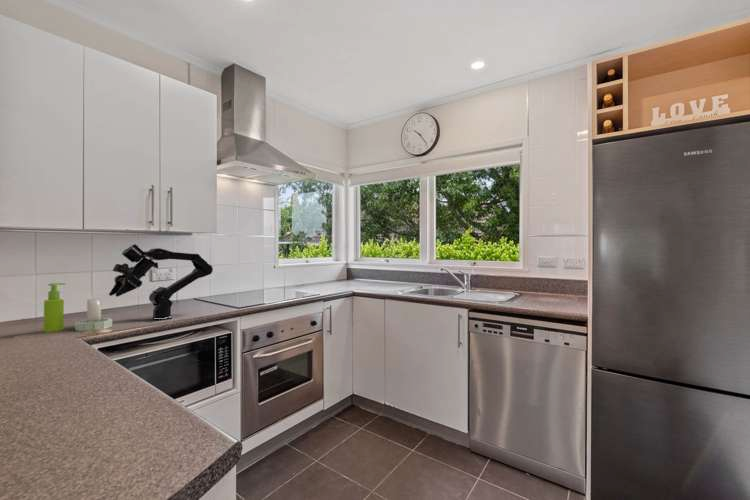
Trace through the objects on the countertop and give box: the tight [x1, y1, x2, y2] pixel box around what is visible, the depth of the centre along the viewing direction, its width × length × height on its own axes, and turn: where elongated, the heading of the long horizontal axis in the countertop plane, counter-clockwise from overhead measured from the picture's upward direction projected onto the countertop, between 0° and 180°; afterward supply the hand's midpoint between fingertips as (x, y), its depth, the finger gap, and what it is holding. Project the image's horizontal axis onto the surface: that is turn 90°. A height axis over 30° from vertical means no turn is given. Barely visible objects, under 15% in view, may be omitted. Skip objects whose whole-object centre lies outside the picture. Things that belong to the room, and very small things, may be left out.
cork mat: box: [80, 328, 113, 336], centre depth 138 cm, size 10×10×1 cm
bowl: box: [74, 317, 113, 332], centre depth 146 cm, size 12×12×4 cm
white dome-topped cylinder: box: [86, 298, 102, 323], centre depth 147 cm, size 5×5×12 cm
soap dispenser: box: [43, 282, 66, 333], centre depth 142 cm, size 6×7×20 cm
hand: (112, 295), depth 152 cm, fingers open, 9 cm apart
